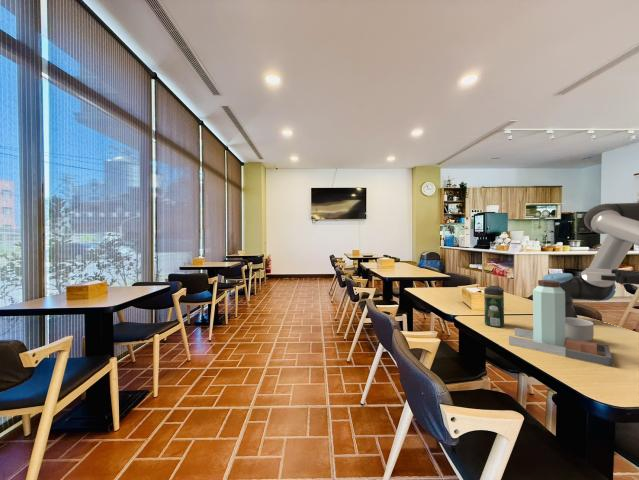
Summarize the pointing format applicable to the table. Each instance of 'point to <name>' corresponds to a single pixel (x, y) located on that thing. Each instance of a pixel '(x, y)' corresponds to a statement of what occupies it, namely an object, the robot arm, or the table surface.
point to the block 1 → (573, 345)
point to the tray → (592, 355)
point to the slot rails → (534, 343)
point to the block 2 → (588, 347)
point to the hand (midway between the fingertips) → (586, 273)
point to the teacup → (579, 329)
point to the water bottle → (549, 313)
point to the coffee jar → (494, 306)
